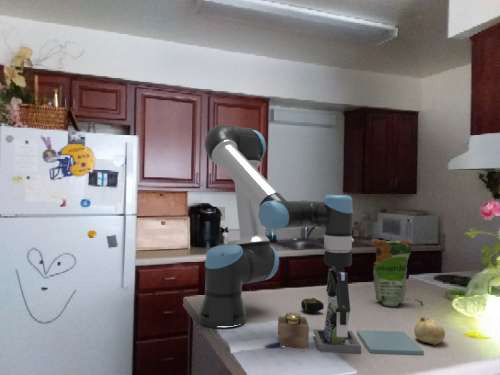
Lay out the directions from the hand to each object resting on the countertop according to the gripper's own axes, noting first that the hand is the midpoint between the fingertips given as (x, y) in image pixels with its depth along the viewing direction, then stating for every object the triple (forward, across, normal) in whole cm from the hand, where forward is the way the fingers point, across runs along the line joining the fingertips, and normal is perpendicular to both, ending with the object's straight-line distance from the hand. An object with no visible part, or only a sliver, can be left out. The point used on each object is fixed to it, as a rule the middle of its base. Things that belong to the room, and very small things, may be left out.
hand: (336, 327), depth 107 cm
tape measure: (+4, +28, 0) cm, 29 cm away
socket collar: (+5, 0, 0) cm, 5 cm away
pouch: (+5, +42, -29) cm, 51 cm away
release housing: (+5, 0, +12) cm, 13 cm away
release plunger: (+4, 0, +12) cm, 13 cm away
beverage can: (+5, 0, 0) cm, 5 cm away
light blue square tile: (+5, +2, -15) cm, 16 cm away
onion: (+5, +5, -27) cm, 28 cm away
